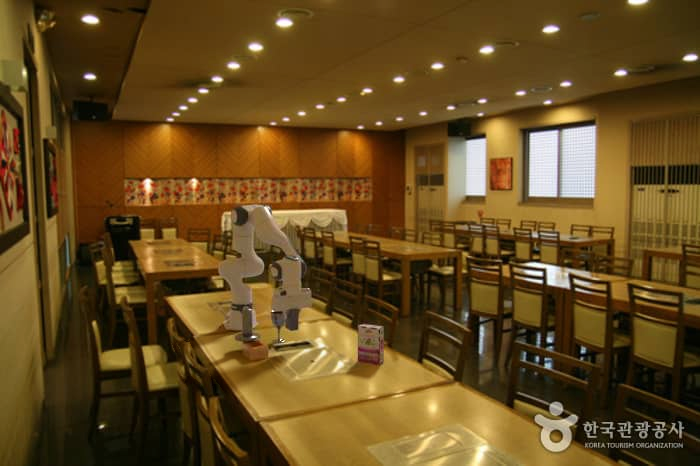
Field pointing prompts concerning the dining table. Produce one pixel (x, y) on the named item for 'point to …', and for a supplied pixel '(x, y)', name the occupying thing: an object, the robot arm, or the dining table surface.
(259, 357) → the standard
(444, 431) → the dining table surface
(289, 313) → the dark brown upright block
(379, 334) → the candy bar box
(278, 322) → the wine glass
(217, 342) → the dining table surface
